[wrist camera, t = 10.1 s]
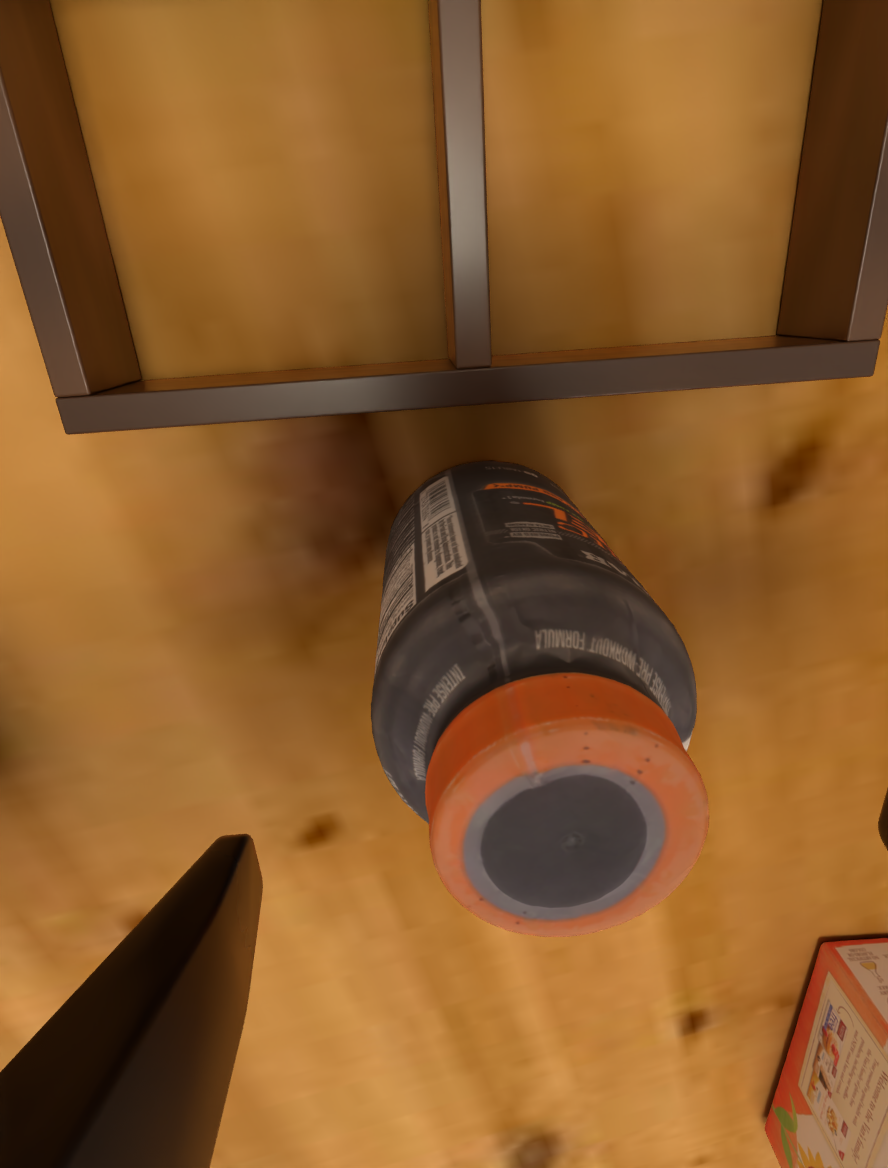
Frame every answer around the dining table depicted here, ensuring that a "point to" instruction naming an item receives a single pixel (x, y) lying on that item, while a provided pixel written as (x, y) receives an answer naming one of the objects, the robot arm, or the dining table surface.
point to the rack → (445, 254)
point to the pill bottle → (533, 707)
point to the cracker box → (837, 1065)
